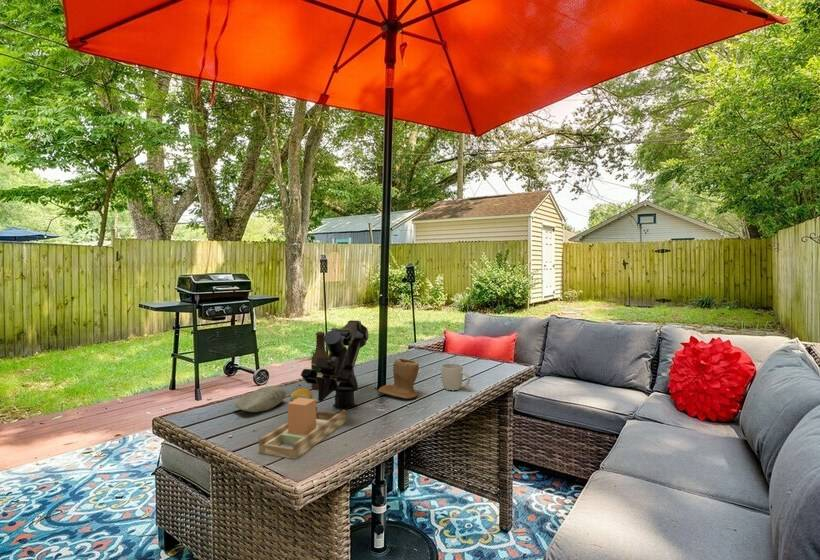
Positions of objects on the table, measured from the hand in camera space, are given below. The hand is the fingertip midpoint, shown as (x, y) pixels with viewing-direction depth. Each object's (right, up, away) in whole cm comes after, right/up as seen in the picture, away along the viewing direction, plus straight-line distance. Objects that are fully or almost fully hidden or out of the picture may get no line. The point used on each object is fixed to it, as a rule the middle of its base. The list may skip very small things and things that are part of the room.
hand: (319, 400), depth 143 cm
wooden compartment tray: (-3, -9, -8) cm, 12 cm away
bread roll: (-13, -8, +30) cm, 34 cm away
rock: (-25, -8, +18) cm, 32 cm away
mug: (+49, -7, +43) cm, 65 cm away
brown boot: (+26, -8, +34) cm, 44 cm away
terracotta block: (-3, -6, -10) cm, 12 cm away
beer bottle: (-9, -7, +45) cm, 47 cm away
